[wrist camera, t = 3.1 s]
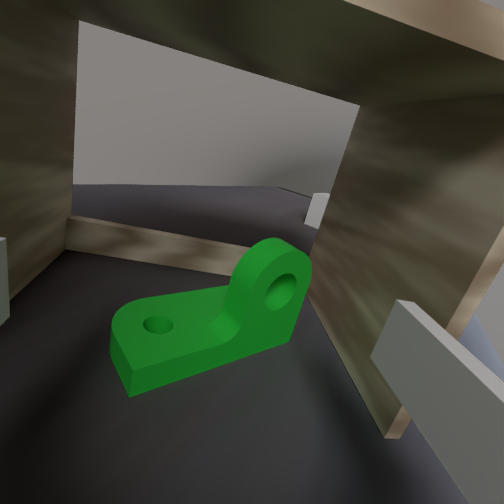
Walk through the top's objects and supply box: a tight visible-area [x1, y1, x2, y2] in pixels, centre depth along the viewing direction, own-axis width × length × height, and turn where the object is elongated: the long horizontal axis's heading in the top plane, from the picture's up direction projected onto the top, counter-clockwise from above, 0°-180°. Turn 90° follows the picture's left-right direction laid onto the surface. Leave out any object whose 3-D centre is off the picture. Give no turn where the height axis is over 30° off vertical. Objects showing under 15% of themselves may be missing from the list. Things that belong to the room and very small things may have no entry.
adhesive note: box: [304, 193, 330, 229], centre depth 60 cm, size 6×6×6 cm
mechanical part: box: [109, 238, 312, 398], centre depth 21 cm, size 12×6×8 cm, turn 128°
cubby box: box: [0, 0, 504, 439], centre depth 20 cm, size 25×18×19 cm
